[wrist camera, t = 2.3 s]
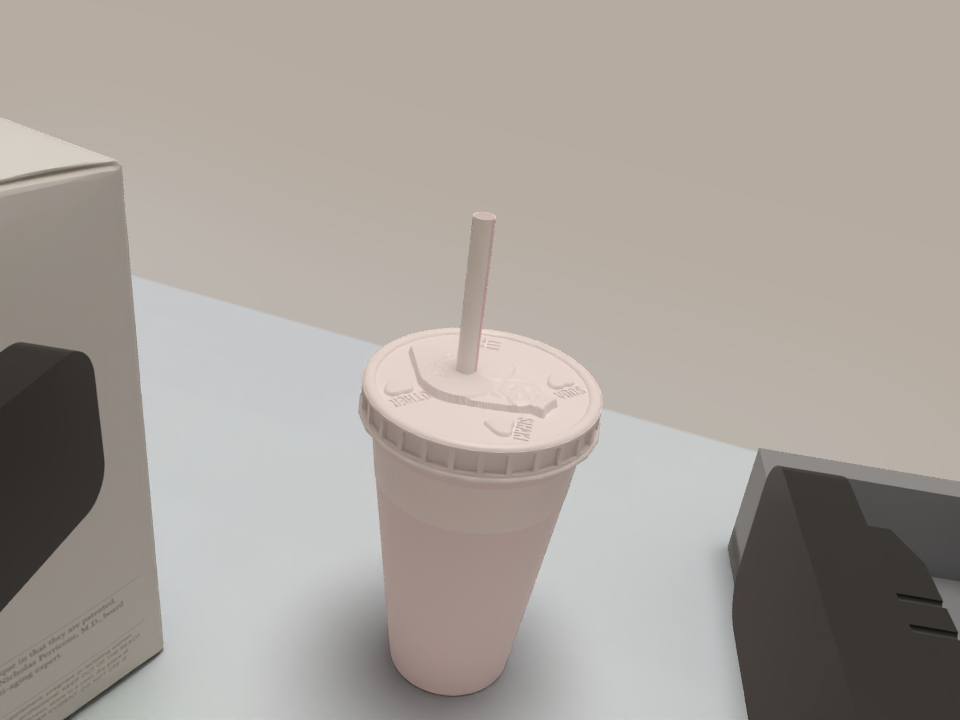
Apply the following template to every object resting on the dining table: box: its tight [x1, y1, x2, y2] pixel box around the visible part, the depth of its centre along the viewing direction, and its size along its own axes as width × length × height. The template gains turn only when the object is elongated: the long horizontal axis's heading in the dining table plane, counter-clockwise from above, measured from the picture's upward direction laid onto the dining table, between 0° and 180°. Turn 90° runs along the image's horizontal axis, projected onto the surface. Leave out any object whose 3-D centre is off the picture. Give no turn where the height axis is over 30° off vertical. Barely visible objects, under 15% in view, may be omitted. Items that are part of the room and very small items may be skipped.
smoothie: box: [358, 212, 603, 696], centre depth 24 cm, size 6×6×14 cm
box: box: [728, 448, 960, 640], centre depth 27 cm, size 10×10×4 cm
